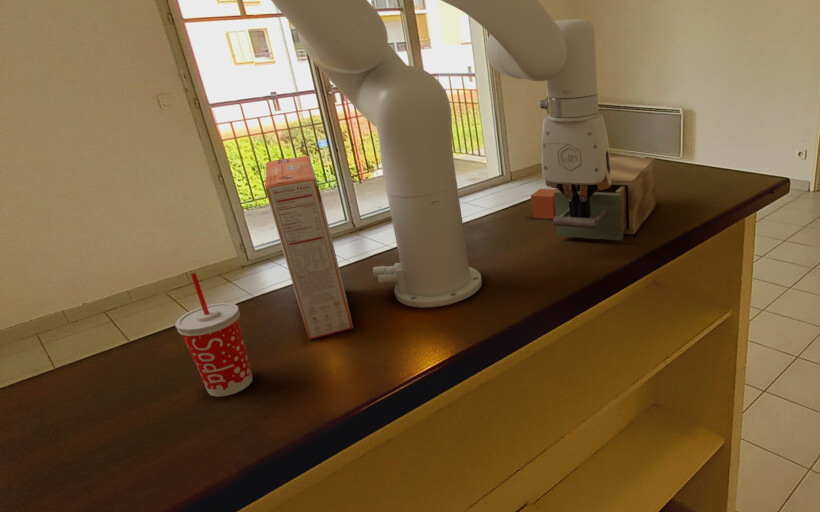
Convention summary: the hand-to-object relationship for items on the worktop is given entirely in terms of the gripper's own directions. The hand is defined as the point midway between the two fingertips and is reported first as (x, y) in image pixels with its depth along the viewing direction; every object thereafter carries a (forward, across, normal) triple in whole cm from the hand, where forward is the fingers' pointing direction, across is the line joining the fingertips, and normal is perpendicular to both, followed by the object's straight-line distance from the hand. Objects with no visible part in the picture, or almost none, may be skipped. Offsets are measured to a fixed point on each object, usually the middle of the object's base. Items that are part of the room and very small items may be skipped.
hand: (580, 222), depth 99 cm
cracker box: (+5, -27, -29) cm, 40 cm away
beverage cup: (+5, -26, -46) cm, 53 cm away
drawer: (+4, 0, +7) cm, 8 cm away
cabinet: (+5, 0, +16) cm, 17 cm away
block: (+5, -13, +16) cm, 21 cm away
